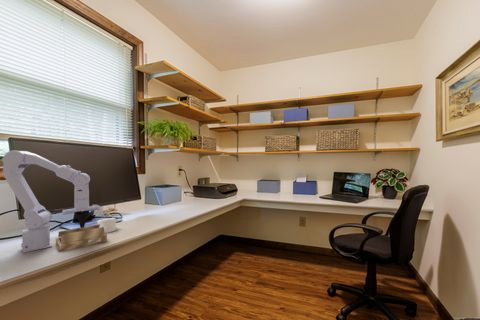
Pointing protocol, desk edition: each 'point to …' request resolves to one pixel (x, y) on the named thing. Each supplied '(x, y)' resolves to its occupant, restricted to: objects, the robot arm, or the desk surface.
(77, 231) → the flap far
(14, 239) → the desk surface
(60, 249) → the carton
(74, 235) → the flap near
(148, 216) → the desk surface
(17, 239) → the desk surface
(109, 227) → the bracket
